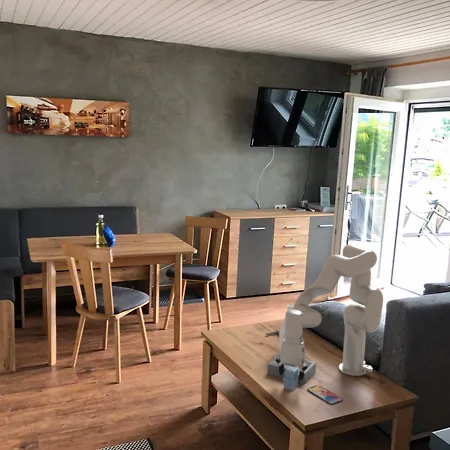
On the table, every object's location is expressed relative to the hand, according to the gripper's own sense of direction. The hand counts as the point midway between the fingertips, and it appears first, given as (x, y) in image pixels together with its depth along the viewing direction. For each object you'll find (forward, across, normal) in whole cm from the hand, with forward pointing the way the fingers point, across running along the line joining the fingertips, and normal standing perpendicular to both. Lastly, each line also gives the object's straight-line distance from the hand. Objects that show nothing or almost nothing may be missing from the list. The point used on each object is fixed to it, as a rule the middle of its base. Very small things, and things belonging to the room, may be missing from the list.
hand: (291, 376), depth 224 cm
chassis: (+5, +5, -13) cm, 15 cm away
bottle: (+5, +14, -31) cm, 34 cm away
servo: (+5, 0, 0) cm, 5 cm away
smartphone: (+5, -15, -1) cm, 16 cm away
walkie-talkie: (+5, +27, -53) cm, 60 cm away
